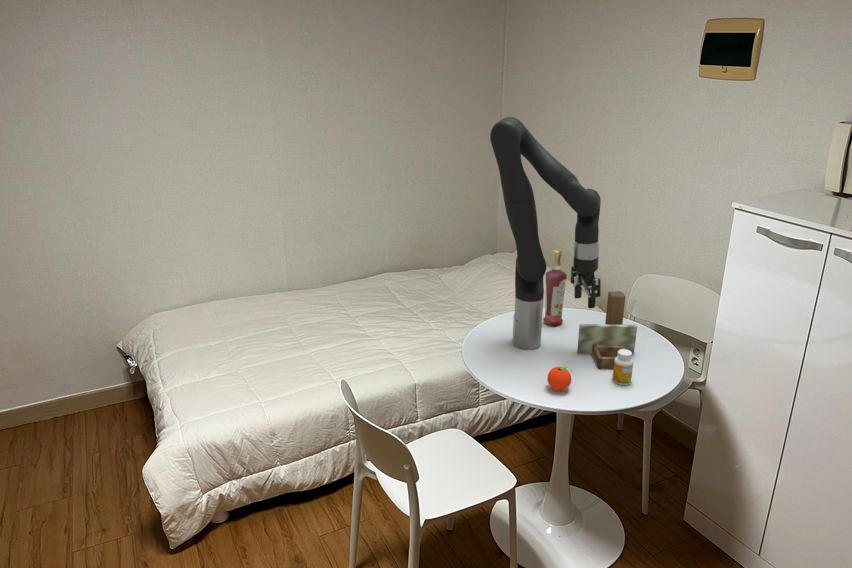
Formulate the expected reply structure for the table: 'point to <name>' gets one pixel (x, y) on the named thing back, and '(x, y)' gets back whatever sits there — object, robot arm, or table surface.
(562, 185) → the robot arm
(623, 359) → the supplement bottle
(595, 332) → the board
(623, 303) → the wooden block
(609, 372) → the table surface
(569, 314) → the table surface
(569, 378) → the clementine
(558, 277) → the liquor
